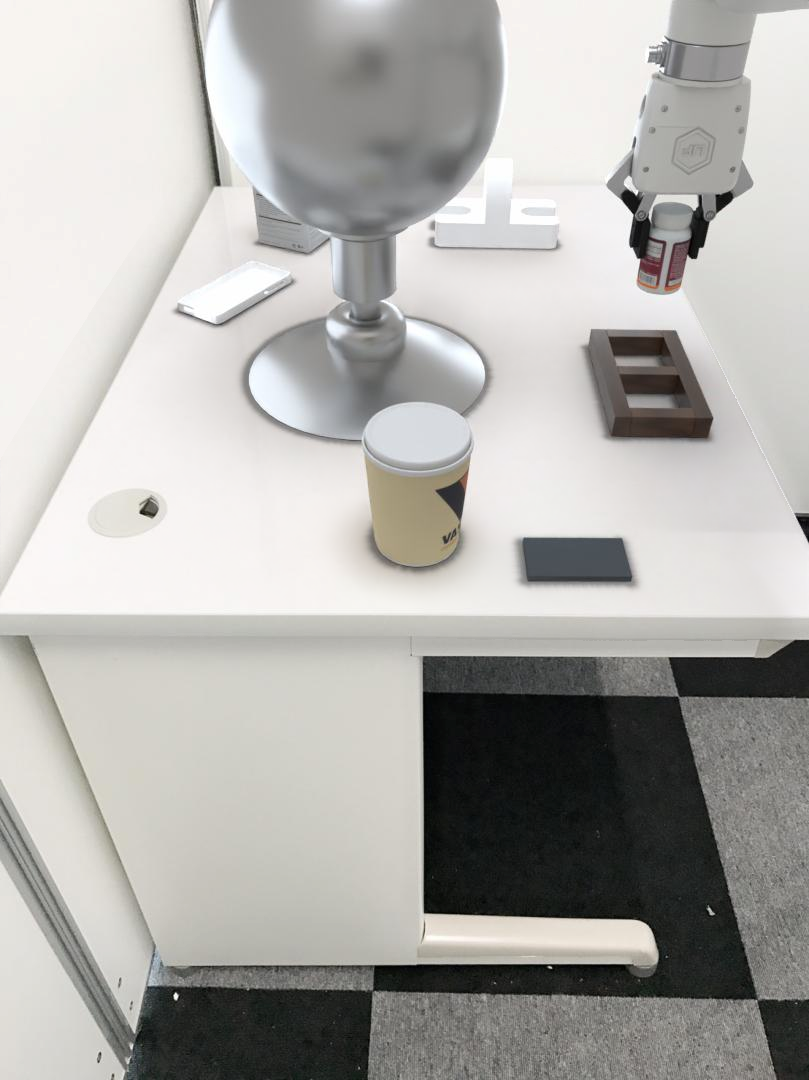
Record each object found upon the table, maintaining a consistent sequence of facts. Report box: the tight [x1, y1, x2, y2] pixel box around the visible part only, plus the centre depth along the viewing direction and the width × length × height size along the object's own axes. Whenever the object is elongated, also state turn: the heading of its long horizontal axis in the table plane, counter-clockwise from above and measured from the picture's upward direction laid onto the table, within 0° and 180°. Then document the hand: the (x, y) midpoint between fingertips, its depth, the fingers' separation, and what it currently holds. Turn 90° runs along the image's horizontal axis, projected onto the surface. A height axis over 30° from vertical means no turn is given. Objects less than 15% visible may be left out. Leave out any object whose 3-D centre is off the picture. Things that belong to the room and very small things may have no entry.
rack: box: [587, 328, 714, 438], centre depth 96 cm, size 10×19×2 cm, turn 178°
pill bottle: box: [636, 201, 694, 296], centre depth 89 cm, size 5×5×8 cm
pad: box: [522, 537, 633, 582], centre depth 76 cm, size 9×5×1 cm, turn 89°
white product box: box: [251, 184, 330, 254], centre depth 123 cm, size 9×9×15 cm
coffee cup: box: [361, 402, 475, 568], centre depth 74 cm, size 9×9×12 cm
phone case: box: [177, 260, 292, 325], centre depth 113 cm, size 7×1×15 cm
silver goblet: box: [204, 0, 509, 441], centre depth 85 cm, size 28×28×45 cm
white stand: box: [434, 158, 560, 250], centre depth 125 cm, size 10×18×11 cm, turn 88°
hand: (664, 252), depth 90 cm, fingers closed on pill bottle, 4 cm apart
